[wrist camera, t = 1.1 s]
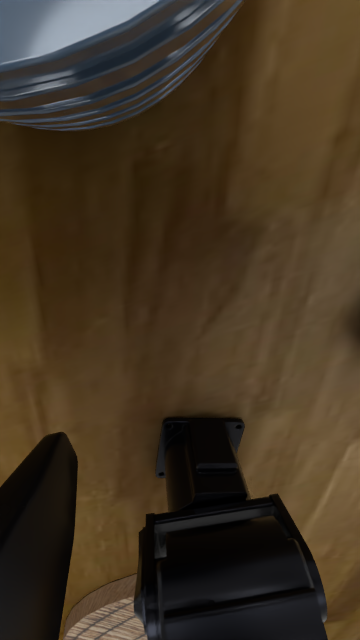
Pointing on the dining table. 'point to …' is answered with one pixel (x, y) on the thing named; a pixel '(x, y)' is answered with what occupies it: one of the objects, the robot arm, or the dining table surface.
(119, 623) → the trivet
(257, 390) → the dining table surface
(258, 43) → the dining table surface
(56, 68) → the plate stack
